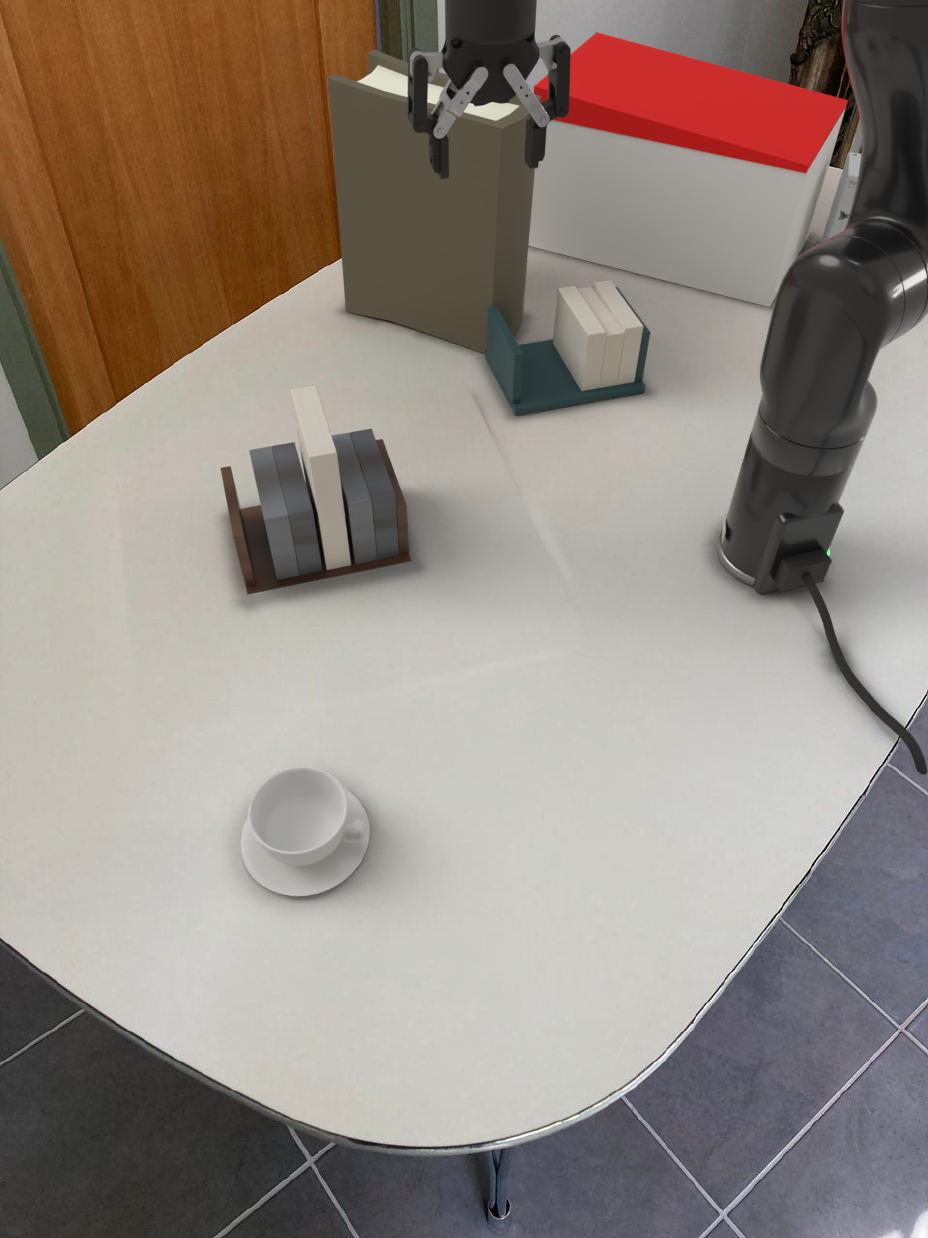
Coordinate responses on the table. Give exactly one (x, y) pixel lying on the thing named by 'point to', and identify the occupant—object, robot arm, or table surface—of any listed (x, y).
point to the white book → (321, 476)
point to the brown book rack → (284, 522)
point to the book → (430, 208)
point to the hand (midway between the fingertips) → (487, 169)
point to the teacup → (303, 832)
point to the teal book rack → (572, 352)
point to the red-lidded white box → (682, 169)
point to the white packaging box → (843, 197)
